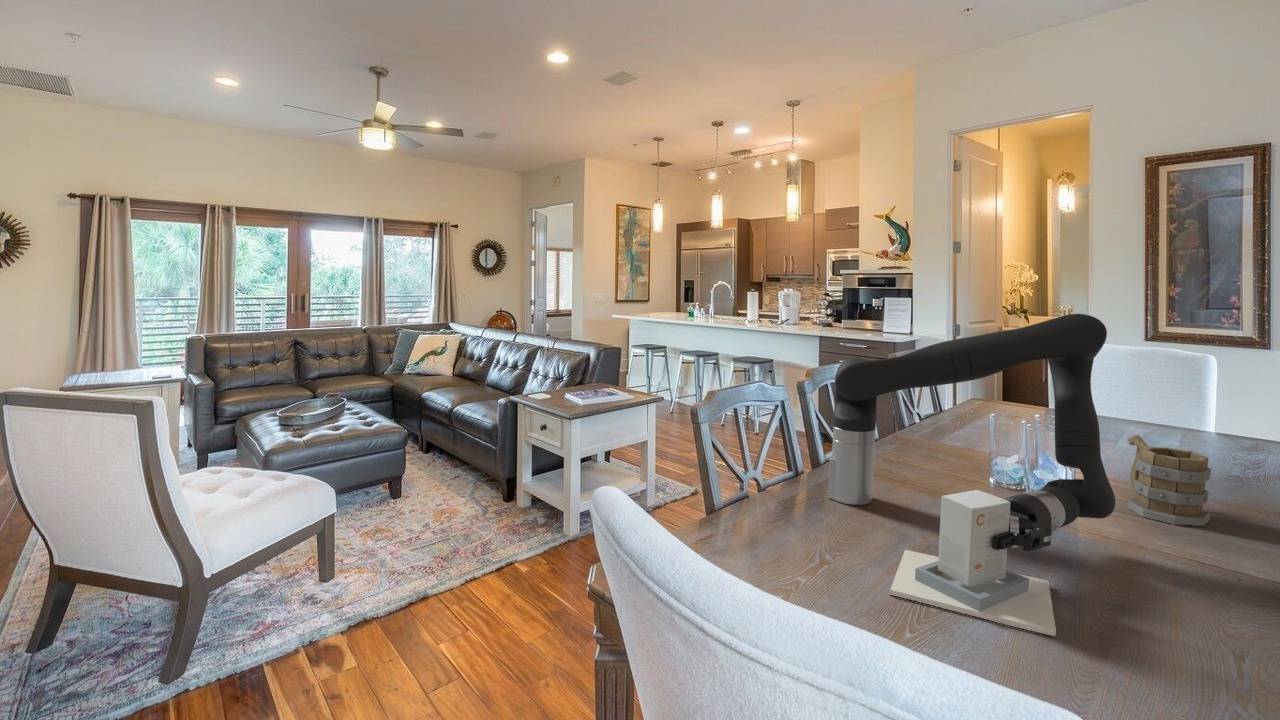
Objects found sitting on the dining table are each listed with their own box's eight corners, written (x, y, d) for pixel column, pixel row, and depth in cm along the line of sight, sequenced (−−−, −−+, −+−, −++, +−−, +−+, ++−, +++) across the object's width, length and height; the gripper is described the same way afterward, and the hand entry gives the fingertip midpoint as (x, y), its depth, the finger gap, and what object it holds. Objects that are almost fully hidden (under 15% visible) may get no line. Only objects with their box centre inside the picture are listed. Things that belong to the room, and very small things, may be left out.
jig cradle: (889, 595, 95) (890, 577, 94) (904, 554, 109) (905, 539, 109) (1055, 638, 83) (1057, 618, 83) (1047, 586, 98) (1049, 569, 97)
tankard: (1223, 528, 121) (1232, 458, 119) (1154, 524, 123) (1162, 455, 122) (1156, 495, 141) (1163, 434, 139) (1098, 491, 143) (1104, 431, 141)
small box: (972, 561, 100) (977, 488, 99) (1006, 579, 94) (1012, 501, 93) (935, 569, 98) (940, 494, 96) (968, 588, 92) (974, 508, 90)
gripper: (990, 482, 108) (932, 498, 100) (1077, 508, 96) (1019, 528, 88) (987, 521, 109) (930, 540, 101) (1073, 551, 97) (1015, 576, 89)
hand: (971, 534), depth 95 cm, fingers closed on small box, 7 cm apart
